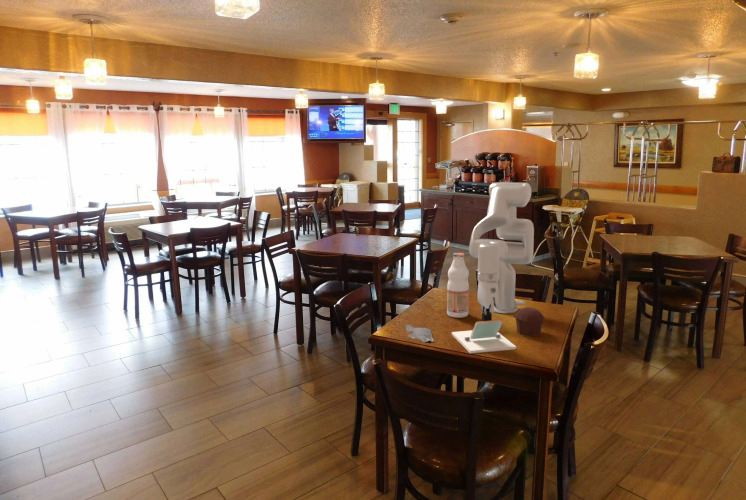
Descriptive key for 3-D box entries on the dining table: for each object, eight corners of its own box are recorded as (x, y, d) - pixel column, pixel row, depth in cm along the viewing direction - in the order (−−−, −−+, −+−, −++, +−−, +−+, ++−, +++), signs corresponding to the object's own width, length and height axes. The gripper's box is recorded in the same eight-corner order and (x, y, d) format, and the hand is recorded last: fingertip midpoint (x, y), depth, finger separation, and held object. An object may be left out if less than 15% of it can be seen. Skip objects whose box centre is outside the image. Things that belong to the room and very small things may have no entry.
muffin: (508, 329, 214) (509, 306, 212) (530, 326, 218) (531, 303, 216) (527, 339, 203) (528, 314, 201) (550, 335, 208) (551, 311, 206)
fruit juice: (443, 316, 232) (444, 254, 227) (451, 310, 240) (452, 250, 235) (463, 319, 228) (464, 256, 222) (471, 313, 235) (472, 252, 230)
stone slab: (404, 325, 219) (427, 323, 219) (404, 329, 219) (428, 327, 220) (409, 342, 201) (435, 340, 201) (409, 346, 202) (435, 344, 202)
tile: (501, 319, 196) (502, 322, 195) (494, 334, 203) (495, 337, 202) (476, 321, 194) (477, 324, 193) (470, 336, 201) (471, 339, 200)
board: (493, 330, 213) (493, 325, 213) (516, 349, 194) (516, 343, 193) (451, 334, 210) (451, 329, 209) (470, 353, 190) (470, 347, 190)
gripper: (506, 281, 187) (504, 329, 191) (489, 271, 201) (488, 316, 205) (486, 282, 186) (485, 331, 189) (470, 272, 200) (469, 317, 204)
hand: (486, 323), depth 197 cm, fingers closed
